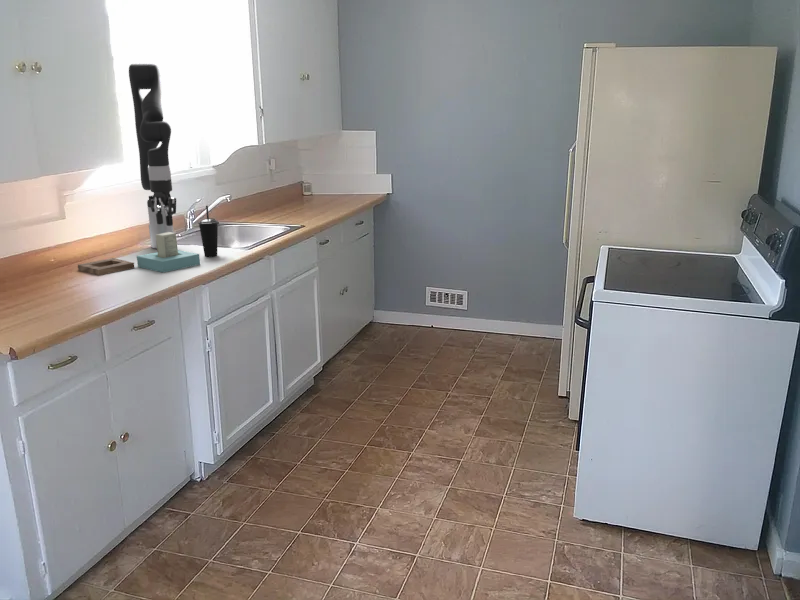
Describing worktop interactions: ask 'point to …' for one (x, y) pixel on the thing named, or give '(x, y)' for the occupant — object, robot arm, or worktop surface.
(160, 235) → the skincare box
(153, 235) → the robot arm
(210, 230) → the drinking cup
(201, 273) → the worktop surface
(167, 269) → the socket block
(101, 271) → the frame
